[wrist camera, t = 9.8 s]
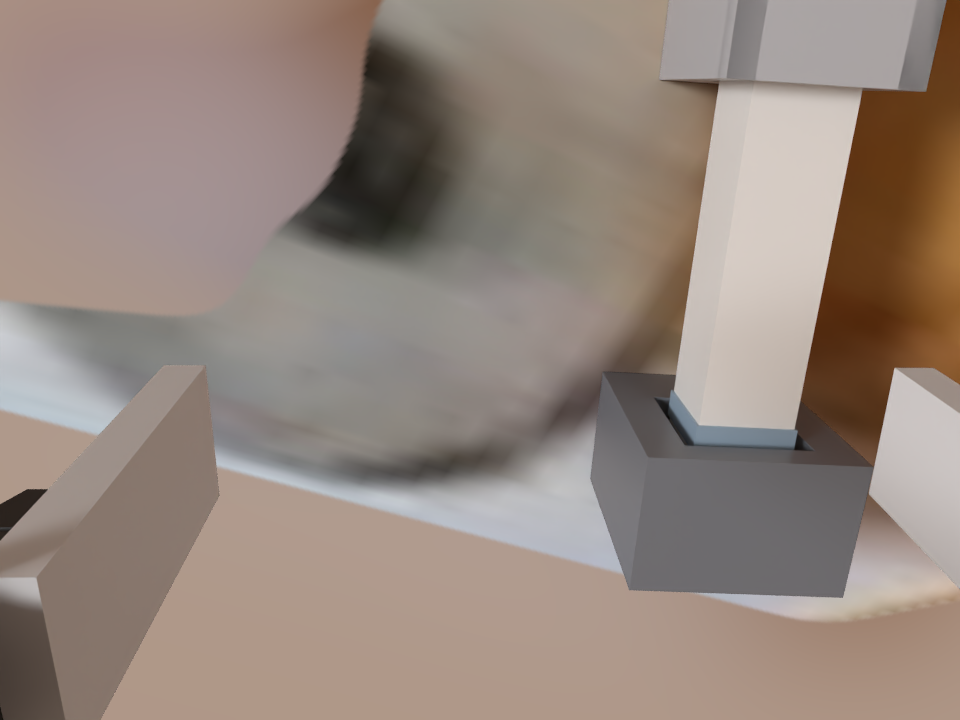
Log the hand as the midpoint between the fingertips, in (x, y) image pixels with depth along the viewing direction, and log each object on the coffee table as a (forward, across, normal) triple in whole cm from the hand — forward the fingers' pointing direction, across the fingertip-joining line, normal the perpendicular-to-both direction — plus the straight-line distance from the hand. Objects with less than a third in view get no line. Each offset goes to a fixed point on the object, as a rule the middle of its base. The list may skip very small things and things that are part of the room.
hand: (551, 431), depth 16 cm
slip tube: (+20, +11, -1) cm, 23 cm away
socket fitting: (+24, +10, -11) cm, 28 cm away
